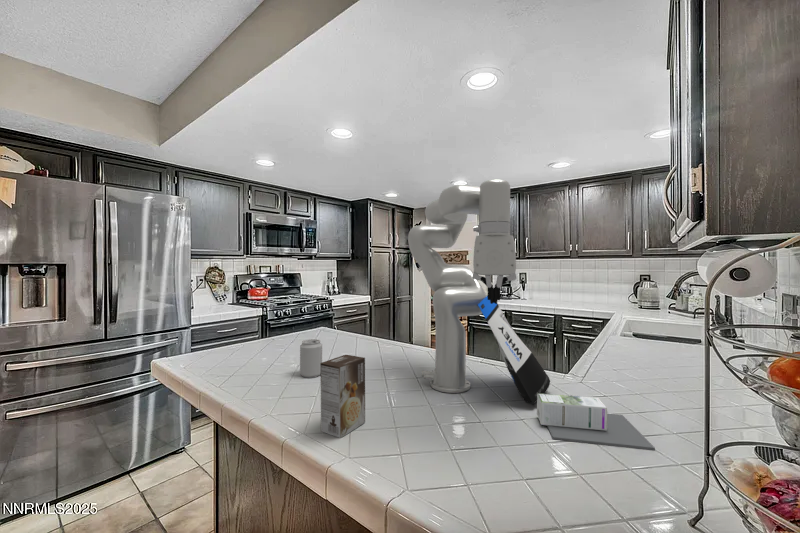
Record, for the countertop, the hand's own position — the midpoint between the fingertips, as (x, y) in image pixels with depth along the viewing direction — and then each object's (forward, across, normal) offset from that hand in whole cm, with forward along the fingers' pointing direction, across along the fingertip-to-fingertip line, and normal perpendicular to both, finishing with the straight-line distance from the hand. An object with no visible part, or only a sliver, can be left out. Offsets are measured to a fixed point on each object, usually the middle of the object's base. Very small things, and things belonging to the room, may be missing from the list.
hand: (493, 303), depth 86 cm
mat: (+29, +22, 0) cm, 37 cm away
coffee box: (+29, -35, -13) cm, 47 cm away
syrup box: (+26, +11, 0) cm, 28 cm away
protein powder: (+27, +13, +19) cm, 35 cm away
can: (+29, -60, +20) cm, 70 cm away
